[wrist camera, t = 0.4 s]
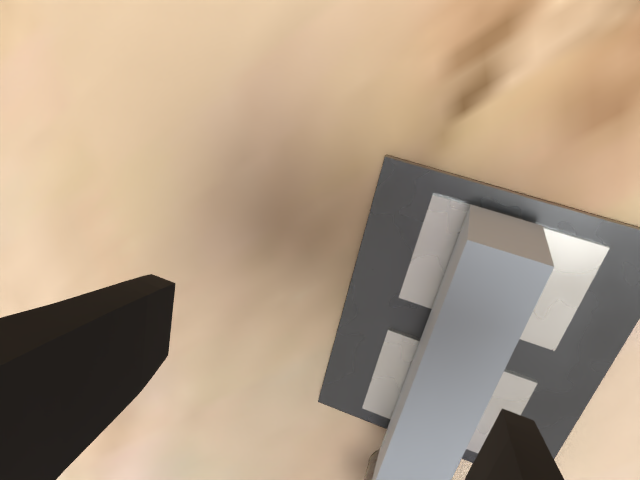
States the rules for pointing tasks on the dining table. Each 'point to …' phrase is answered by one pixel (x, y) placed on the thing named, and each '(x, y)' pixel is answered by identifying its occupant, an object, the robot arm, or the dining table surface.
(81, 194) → the dining table surface
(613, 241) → the label panel
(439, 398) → the gray rectangular box
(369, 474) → the post
